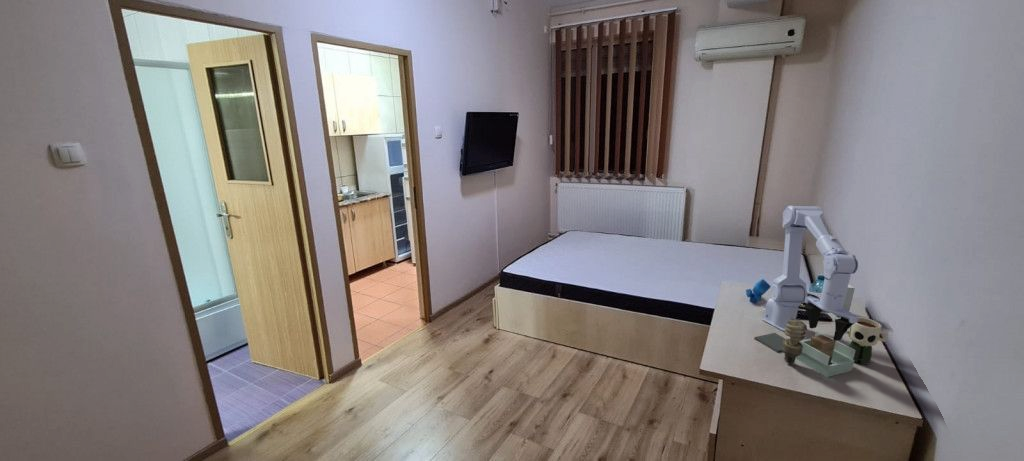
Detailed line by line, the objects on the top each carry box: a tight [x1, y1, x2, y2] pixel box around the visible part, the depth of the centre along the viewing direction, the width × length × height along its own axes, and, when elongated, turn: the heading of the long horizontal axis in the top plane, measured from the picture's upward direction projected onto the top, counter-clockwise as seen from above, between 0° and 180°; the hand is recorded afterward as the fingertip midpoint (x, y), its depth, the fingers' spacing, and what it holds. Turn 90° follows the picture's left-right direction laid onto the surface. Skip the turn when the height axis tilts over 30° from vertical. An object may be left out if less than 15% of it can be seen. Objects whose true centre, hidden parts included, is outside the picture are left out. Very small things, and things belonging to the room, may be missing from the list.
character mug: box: [845, 316, 889, 365], centre depth 133 cm, size 11×7×13 cm, turn 58°
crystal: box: [745, 278, 772, 304], centre depth 175 cm, size 7×9×12 cm
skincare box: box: [834, 283, 856, 317], centre depth 163 cm, size 6×4×12 cm
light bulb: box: [782, 318, 808, 365], centre depth 131 cm, size 6×6×15 cm
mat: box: [753, 332, 786, 353], centre depth 144 cm, size 9×9×1 cm
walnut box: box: [809, 334, 836, 365], centre depth 133 cm, size 4×5×8 cm
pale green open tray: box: [795, 330, 855, 378], centre depth 133 cm, size 13×11×6 cm
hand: (824, 333), depth 131 cm, fingers open, 7 cm apart
